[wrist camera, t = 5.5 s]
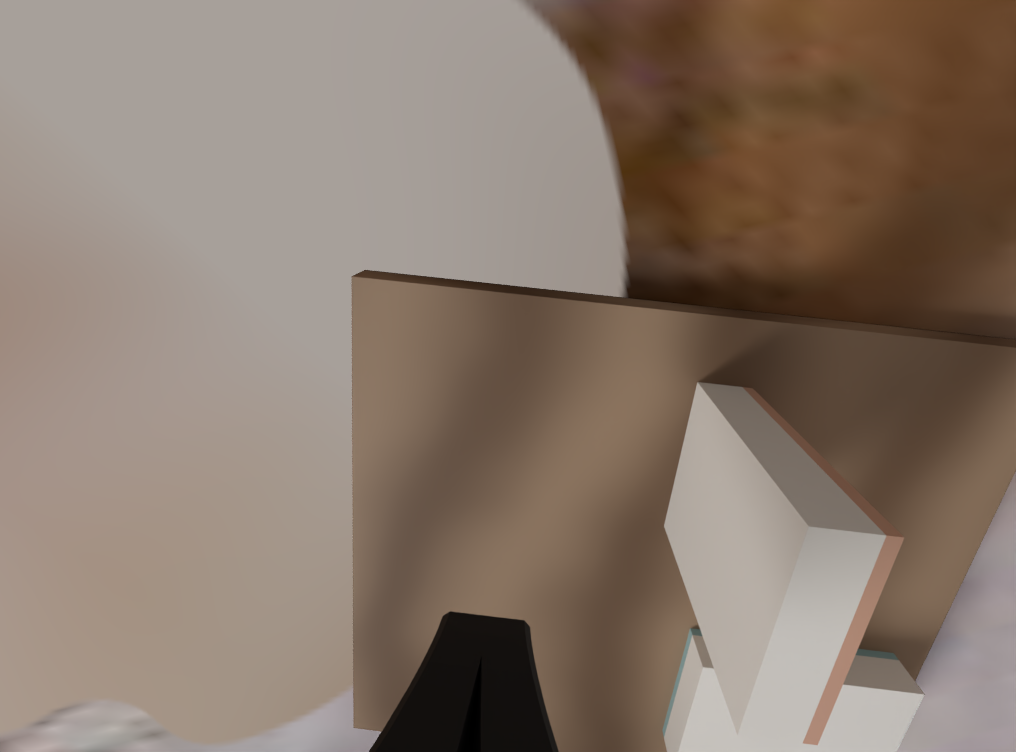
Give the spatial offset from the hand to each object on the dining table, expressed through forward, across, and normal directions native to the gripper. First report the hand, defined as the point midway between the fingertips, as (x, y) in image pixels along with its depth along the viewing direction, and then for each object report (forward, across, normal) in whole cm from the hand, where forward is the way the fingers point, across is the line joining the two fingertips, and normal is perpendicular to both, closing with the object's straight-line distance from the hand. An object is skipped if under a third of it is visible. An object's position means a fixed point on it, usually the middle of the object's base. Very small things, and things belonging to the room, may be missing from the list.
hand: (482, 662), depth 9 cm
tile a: (+8, -7, +9) cm, 14 cm away
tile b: (+8, -6, 0) cm, 10 cm away
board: (+10, -5, +4) cm, 12 cm away
